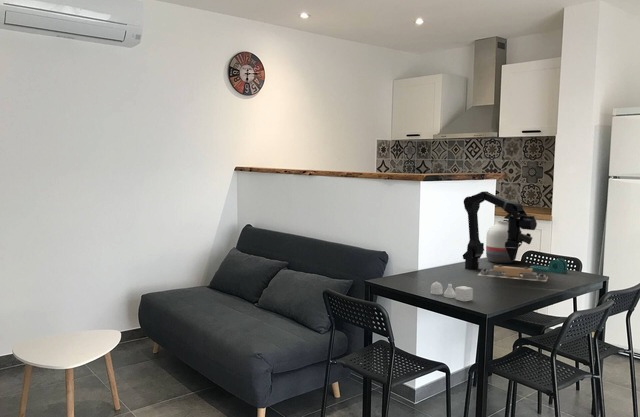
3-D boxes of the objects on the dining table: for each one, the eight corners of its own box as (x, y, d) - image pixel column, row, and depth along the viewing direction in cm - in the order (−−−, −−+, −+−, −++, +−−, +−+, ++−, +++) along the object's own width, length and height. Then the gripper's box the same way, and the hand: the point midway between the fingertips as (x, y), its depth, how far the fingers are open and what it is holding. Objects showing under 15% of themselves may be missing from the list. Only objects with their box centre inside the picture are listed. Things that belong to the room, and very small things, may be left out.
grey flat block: (522, 278, 258) (522, 273, 258) (523, 275, 263) (524, 271, 263) (544, 280, 253) (544, 275, 253) (545, 277, 258) (545, 273, 258)
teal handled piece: (567, 274, 273) (567, 259, 272) (561, 276, 268) (562, 260, 268) (533, 269, 286) (534, 255, 286) (527, 270, 282) (528, 256, 281)
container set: (472, 300, 218) (473, 287, 218) (464, 302, 215) (464, 289, 215) (436, 291, 235) (436, 279, 234) (428, 293, 232) (428, 280, 231)
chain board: (477, 277, 265) (477, 275, 265) (481, 272, 275) (481, 270, 275) (546, 283, 250) (546, 281, 250) (548, 278, 261) (548, 276, 261)
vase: (499, 265, 297) (501, 223, 295) (479, 260, 312) (480, 220, 311) (522, 263, 304) (524, 222, 302) (501, 258, 319) (502, 219, 317)
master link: (493, 274, 265) (493, 265, 264) (494, 272, 268) (494, 263, 268) (531, 277, 257) (531, 268, 257) (532, 276, 260) (532, 266, 260)
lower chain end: (480, 274, 267) (480, 269, 267) (482, 272, 272) (482, 267, 272) (501, 276, 262) (501, 271, 262) (502, 273, 268) (503, 269, 267)
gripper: (529, 231, 249) (528, 263, 250) (533, 227, 265) (532, 257, 267) (505, 229, 254) (504, 262, 255) (510, 226, 270) (509, 256, 272)
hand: (513, 259), depth 262 cm, fingers open, 9 cm apart
